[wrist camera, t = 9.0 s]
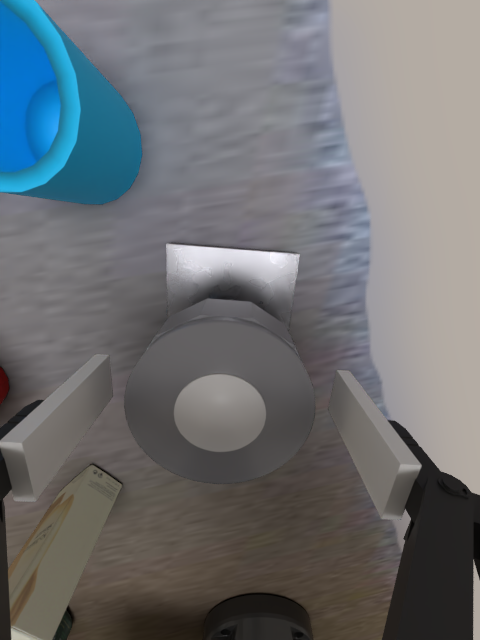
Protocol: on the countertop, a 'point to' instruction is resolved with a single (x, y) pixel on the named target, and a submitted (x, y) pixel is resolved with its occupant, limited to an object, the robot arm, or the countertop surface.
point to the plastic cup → (3, 385)
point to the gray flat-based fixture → (231, 277)
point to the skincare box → (58, 554)
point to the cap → (220, 394)
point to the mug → (59, 116)
